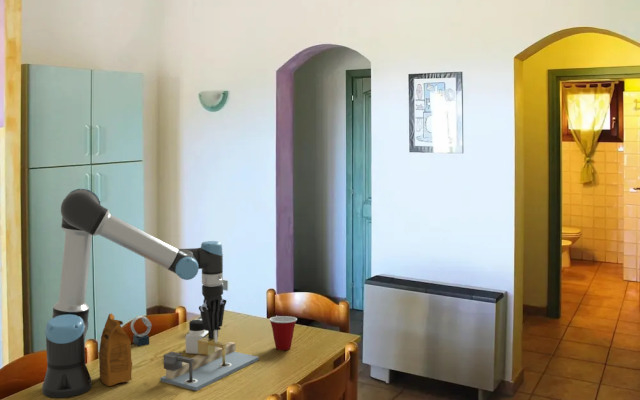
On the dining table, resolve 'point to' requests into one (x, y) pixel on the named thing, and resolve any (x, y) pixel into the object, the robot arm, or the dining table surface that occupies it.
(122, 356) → the coffee package
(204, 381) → the plate
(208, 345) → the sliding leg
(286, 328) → the plastic cup
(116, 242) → the robot arm
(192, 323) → the medicine bottle
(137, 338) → the grey ring on base
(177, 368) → the trammel beam
